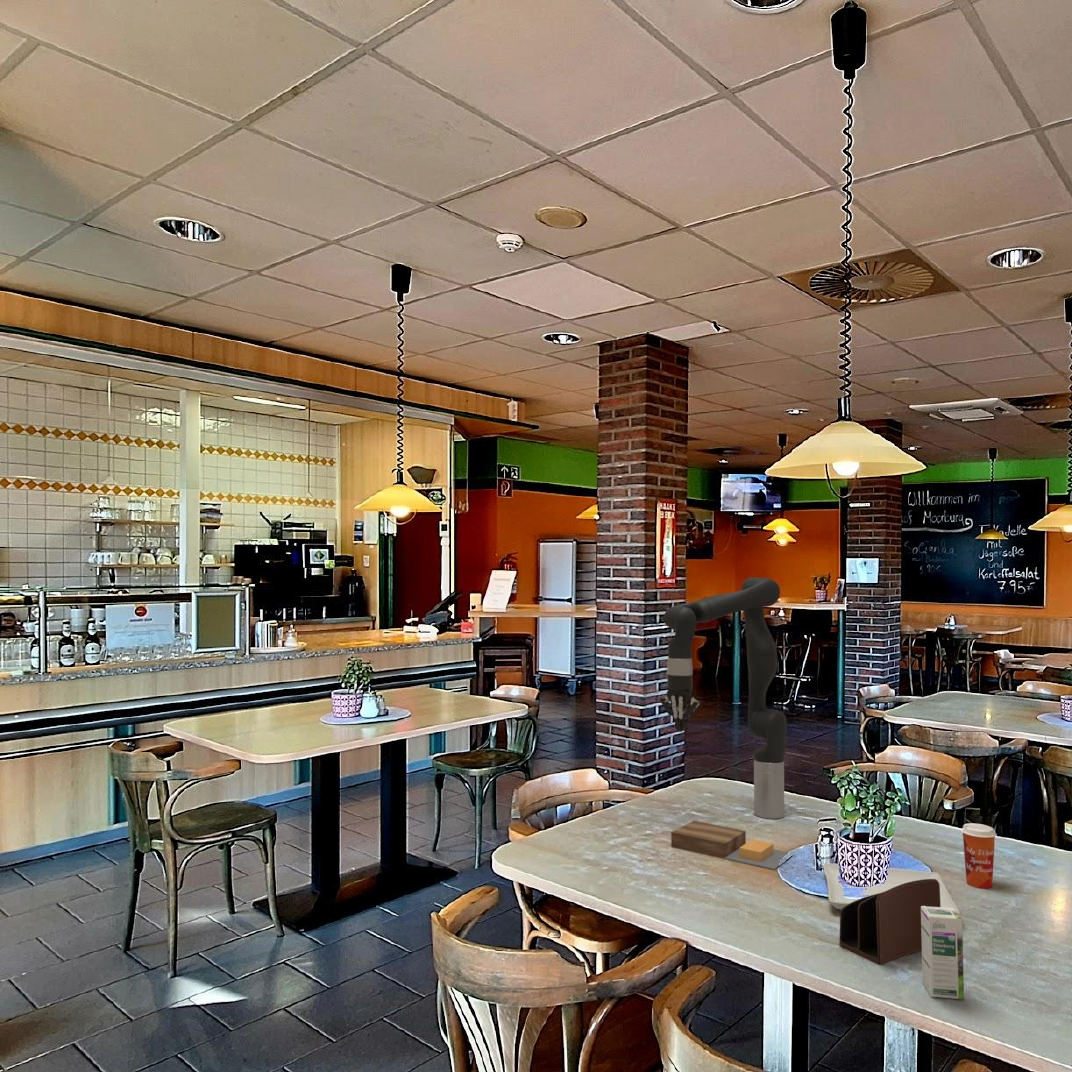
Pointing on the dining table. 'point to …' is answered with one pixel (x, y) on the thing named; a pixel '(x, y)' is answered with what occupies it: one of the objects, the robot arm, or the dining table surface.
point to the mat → (767, 863)
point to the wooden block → (708, 839)
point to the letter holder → (888, 921)
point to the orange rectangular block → (756, 850)
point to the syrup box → (942, 952)
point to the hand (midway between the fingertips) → (679, 730)
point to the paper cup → (979, 854)
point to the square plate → (882, 885)
